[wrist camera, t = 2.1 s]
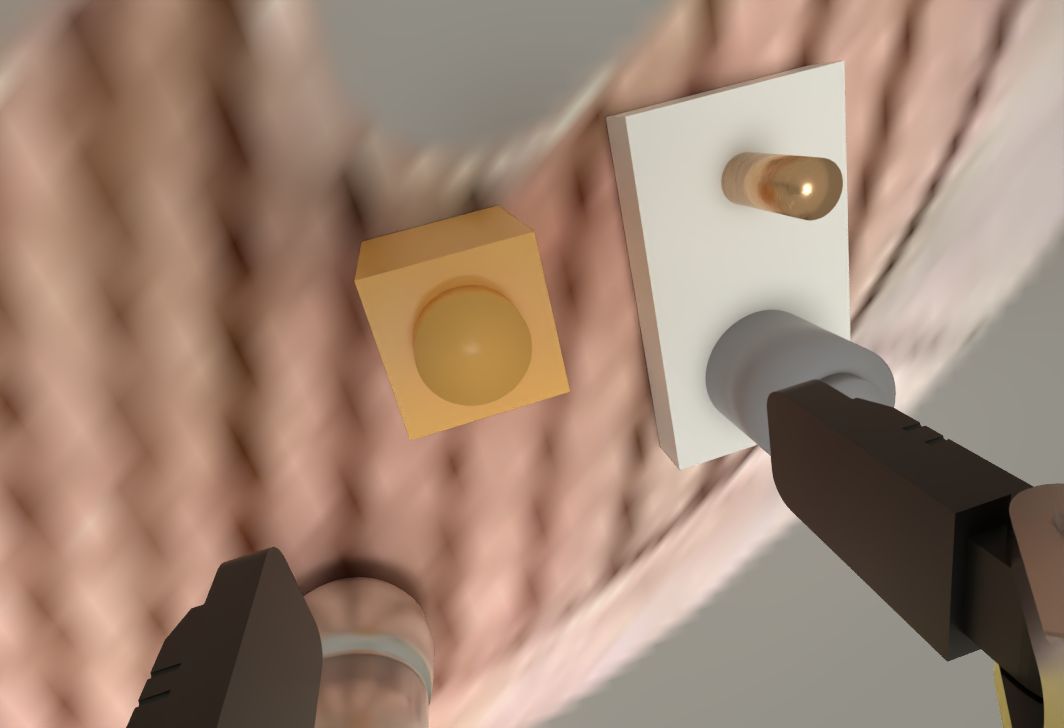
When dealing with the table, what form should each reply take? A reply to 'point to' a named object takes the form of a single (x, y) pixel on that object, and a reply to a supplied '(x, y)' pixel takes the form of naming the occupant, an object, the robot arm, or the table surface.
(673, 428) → the white rectangular plate
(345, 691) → the plastic bottle
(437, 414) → the domed tan cube
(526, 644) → the table surface
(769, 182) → the copper post
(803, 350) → the capped post
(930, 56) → the table surface
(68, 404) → the table surface
